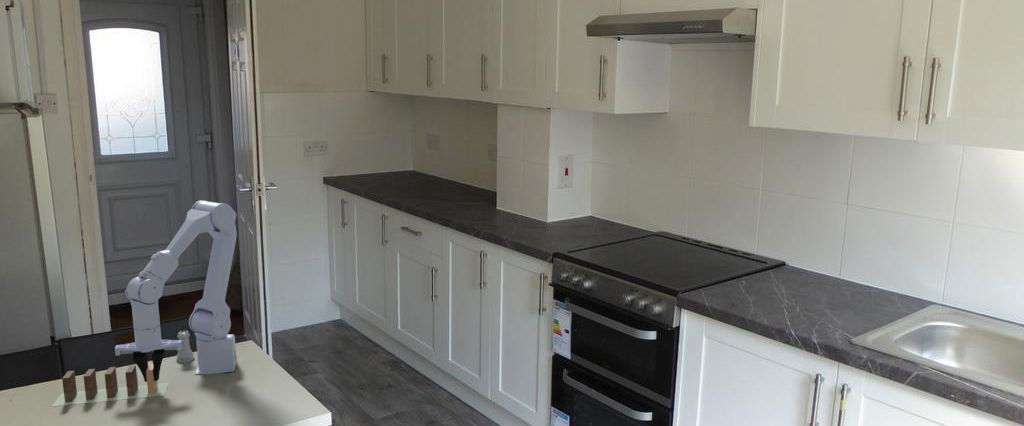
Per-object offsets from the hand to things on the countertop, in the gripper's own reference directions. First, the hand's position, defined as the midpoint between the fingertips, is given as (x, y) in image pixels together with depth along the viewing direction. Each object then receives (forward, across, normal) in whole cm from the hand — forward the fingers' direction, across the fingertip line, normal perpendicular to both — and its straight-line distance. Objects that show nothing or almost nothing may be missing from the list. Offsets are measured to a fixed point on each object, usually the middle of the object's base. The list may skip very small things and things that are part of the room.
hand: (152, 379), depth 184 cm
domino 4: (+3, -4, 0) cm, 5 cm away
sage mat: (+3, -9, 0) cm, 9 cm away
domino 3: (+3, -9, 0) cm, 9 cm away
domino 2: (+3, -14, 0) cm, 14 cm away
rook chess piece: (+3, +4, +20) cm, 20 cm away
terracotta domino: (+3, 0, 0) cm, 3 cm away
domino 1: (+3, -18, 0) cm, 18 cm away
